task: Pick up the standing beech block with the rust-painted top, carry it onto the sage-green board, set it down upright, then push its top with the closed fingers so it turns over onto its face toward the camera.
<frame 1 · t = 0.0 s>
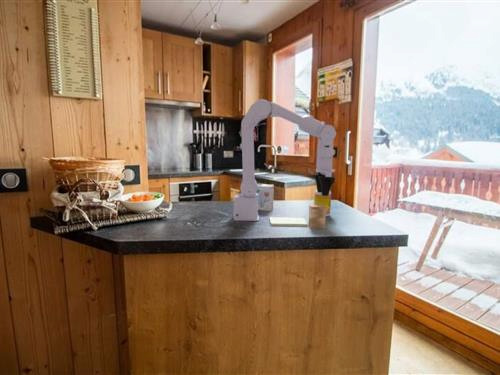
hand: (322, 193, 111), 10 cm above the countertop, tool pointing down, fingers open, 7 cm apart
light bulb box: (260, 209, 131), on the countertop
sage board: (287, 222, 108), on the countertop
beech block: (316, 227, 103), on the countertop
supplement bottle: (321, 215, 121), on the countertop
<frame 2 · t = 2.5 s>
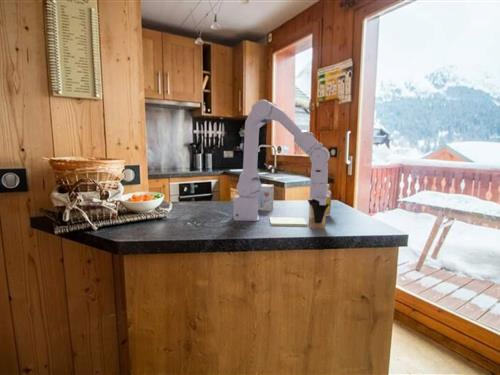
hand: (316, 221, 103), 2 cm above the countertop, tool pointing down, fingers closed on beech block, 3 cm apart
beech block: (316, 226, 103), on the countertop, touching gripper
everything else where it was.
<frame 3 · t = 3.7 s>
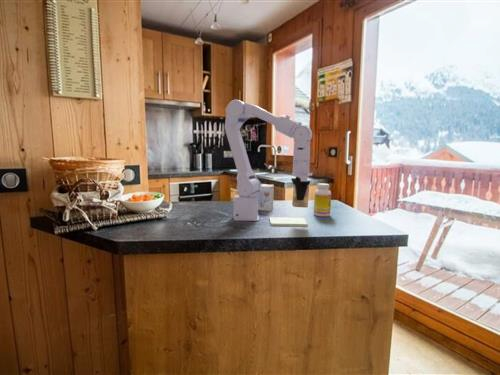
hand: (299, 199, 105), 9 cm above the countertop, tool pointing down, fingers closed on beech block, 3 cm apart
beech block: (299, 206, 105), point 7 cm above the countertop, touching gripper
everything else where it was.
when the fingers open (4 cm above the countertop, at t = 5.1 s): beech block stays where it is, resting on sage board.
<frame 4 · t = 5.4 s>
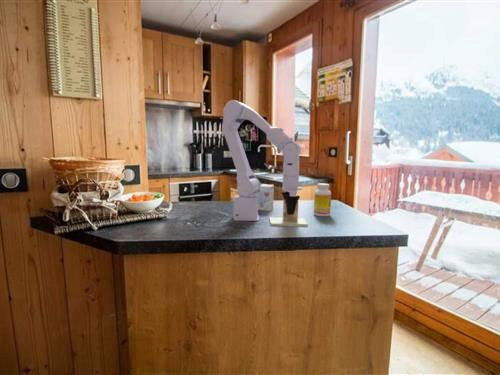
hand: (289, 212, 107), 4 cm above the countertop, tool pointing down, fingers open, 5 cm apart
beech block: (290, 220, 108), point 1 cm above the countertop, touching sage board
everything else where it was.
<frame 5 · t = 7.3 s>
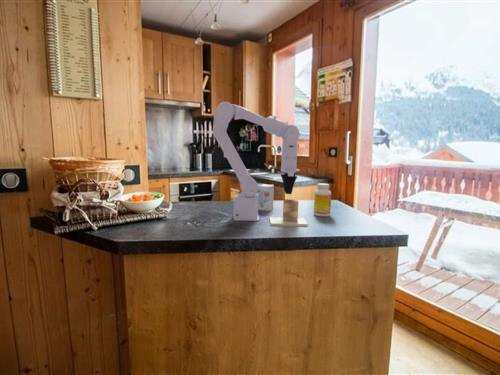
hand: (287, 193, 113), 10 cm above the countertop, tool pointing down, fingers open, 3 cm apart
nothing on the countertop moved.
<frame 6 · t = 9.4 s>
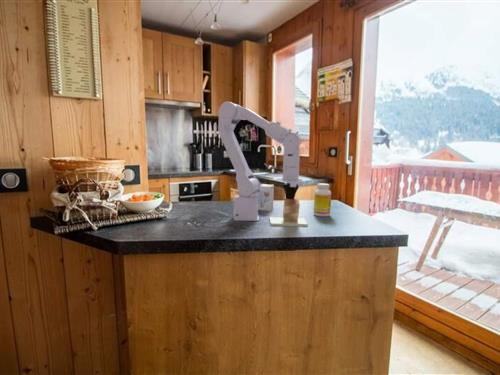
hand: (289, 204, 107), 7 cm above the countertop, tool pointing down, fingers closed
beech block: (290, 218, 108), point 1 cm above the countertop, tilted 21°, touching sage board
everything else where it was.
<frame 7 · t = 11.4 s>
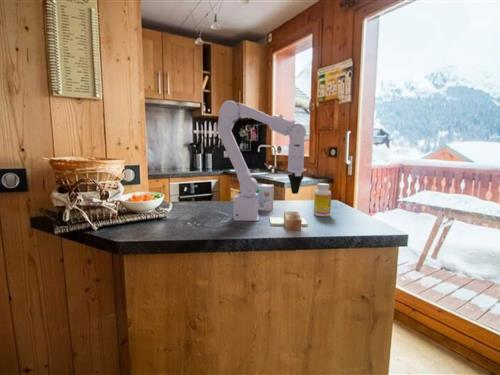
hand: (294, 193, 110), 10 cm above the countertop, tool pointing down, fingers closed
beech block: (291, 215, 106), point 3 cm above the countertop, tilted 100°, touching sage board
everything else where it was.
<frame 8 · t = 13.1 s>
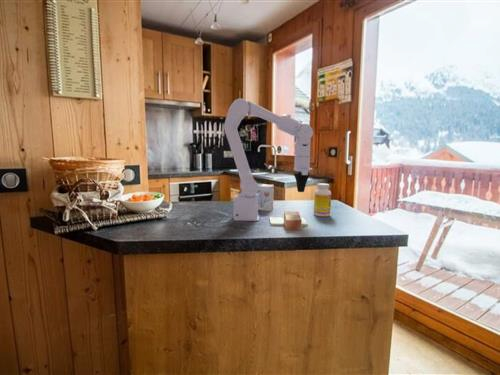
hand: (300, 191, 113), 10 cm above the countertop, tool pointing down, fingers closed
nothing on the countertop moved.
at the end: beech block tilted 100°; beech block inside the target area (1.0 cm from its centre), point 3.0 cm above the countertop; the gripper is holding nothing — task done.
